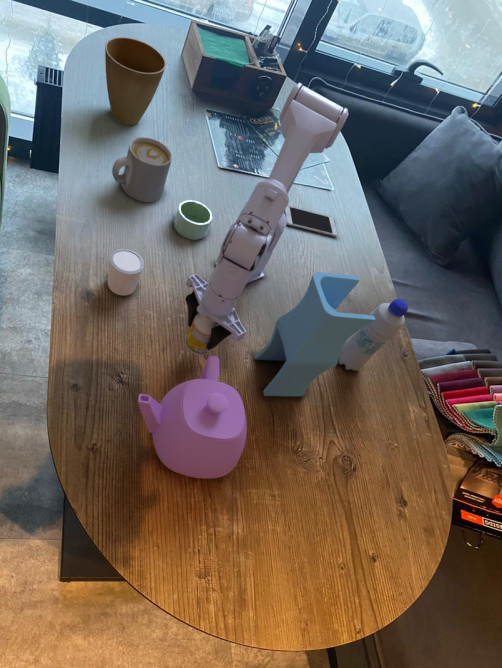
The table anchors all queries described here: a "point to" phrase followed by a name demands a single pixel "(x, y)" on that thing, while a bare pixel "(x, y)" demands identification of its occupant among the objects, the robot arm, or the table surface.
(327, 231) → the smartphone
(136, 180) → the coffee mug
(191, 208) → the cup
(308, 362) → the blue tall flared piece
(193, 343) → the supplement bottle
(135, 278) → the white round canister
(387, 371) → the table surface
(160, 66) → the plant pot
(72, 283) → the table surface
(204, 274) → the table surface
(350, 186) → the table surface
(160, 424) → the teapot
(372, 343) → the bottle
